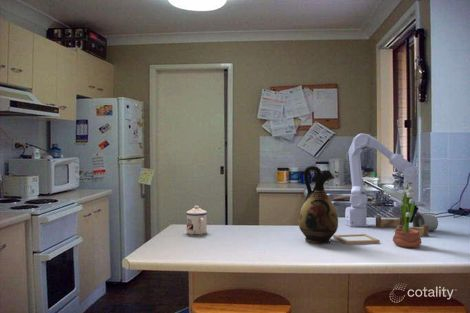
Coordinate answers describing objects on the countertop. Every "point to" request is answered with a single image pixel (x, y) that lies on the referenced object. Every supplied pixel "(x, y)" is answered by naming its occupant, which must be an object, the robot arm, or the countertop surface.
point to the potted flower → (407, 222)
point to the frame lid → (356, 239)
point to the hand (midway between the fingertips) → (409, 222)
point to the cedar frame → (400, 225)
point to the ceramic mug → (425, 221)
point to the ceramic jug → (318, 209)
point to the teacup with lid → (196, 221)
